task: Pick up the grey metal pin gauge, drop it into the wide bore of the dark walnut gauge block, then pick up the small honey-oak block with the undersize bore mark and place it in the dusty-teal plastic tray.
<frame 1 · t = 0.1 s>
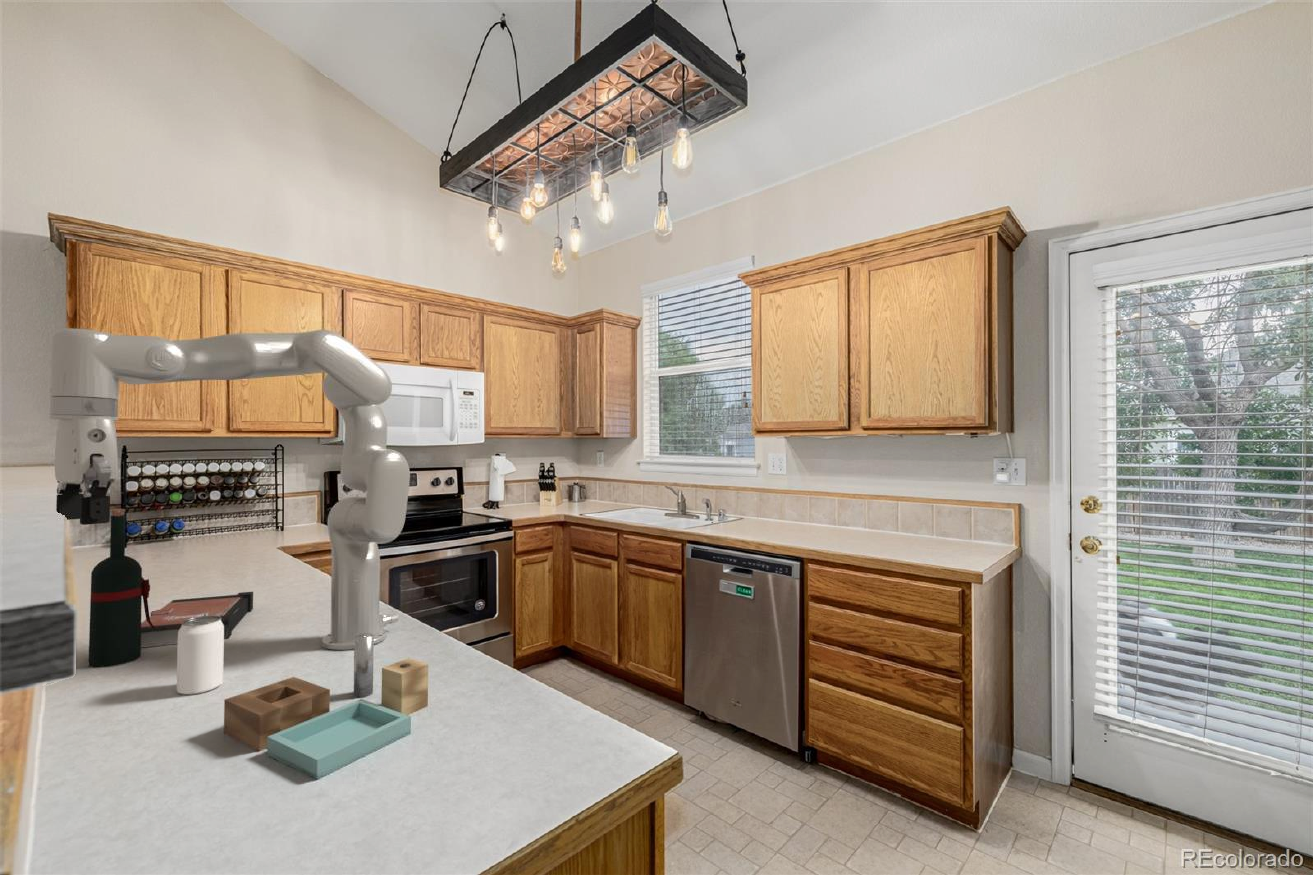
hand: (82, 521, 89), 31 cm above the counter, tool pointing down, fingers open, 9 cm apart
wine bottle: (122, 659, 116), on the counter
book: (196, 630, 137), on the counter
can: (200, 689, 103), on the counter
bore block: (277, 727, 88), on the counter
tray: (341, 743, 84), on the counter
oak block: (404, 708, 95), on the counter
pin gauge: (363, 693, 101), on the counter
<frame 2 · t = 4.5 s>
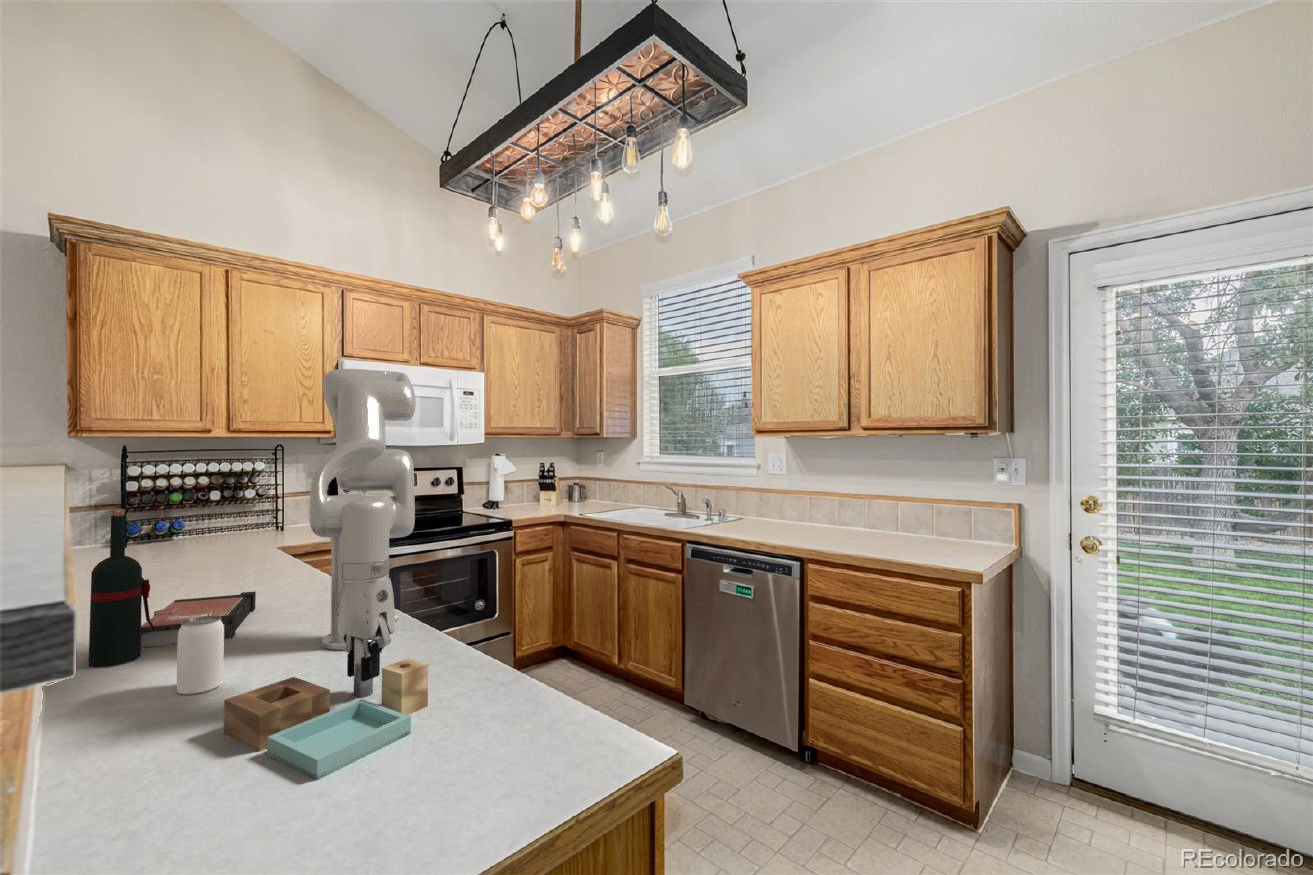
hand: (363, 675, 101), 3 cm above the counter, tool pointing down, fingers closed on pin gauge, 3 cm apart
pin gauge: (363, 693, 101), on the counter, touching gripper
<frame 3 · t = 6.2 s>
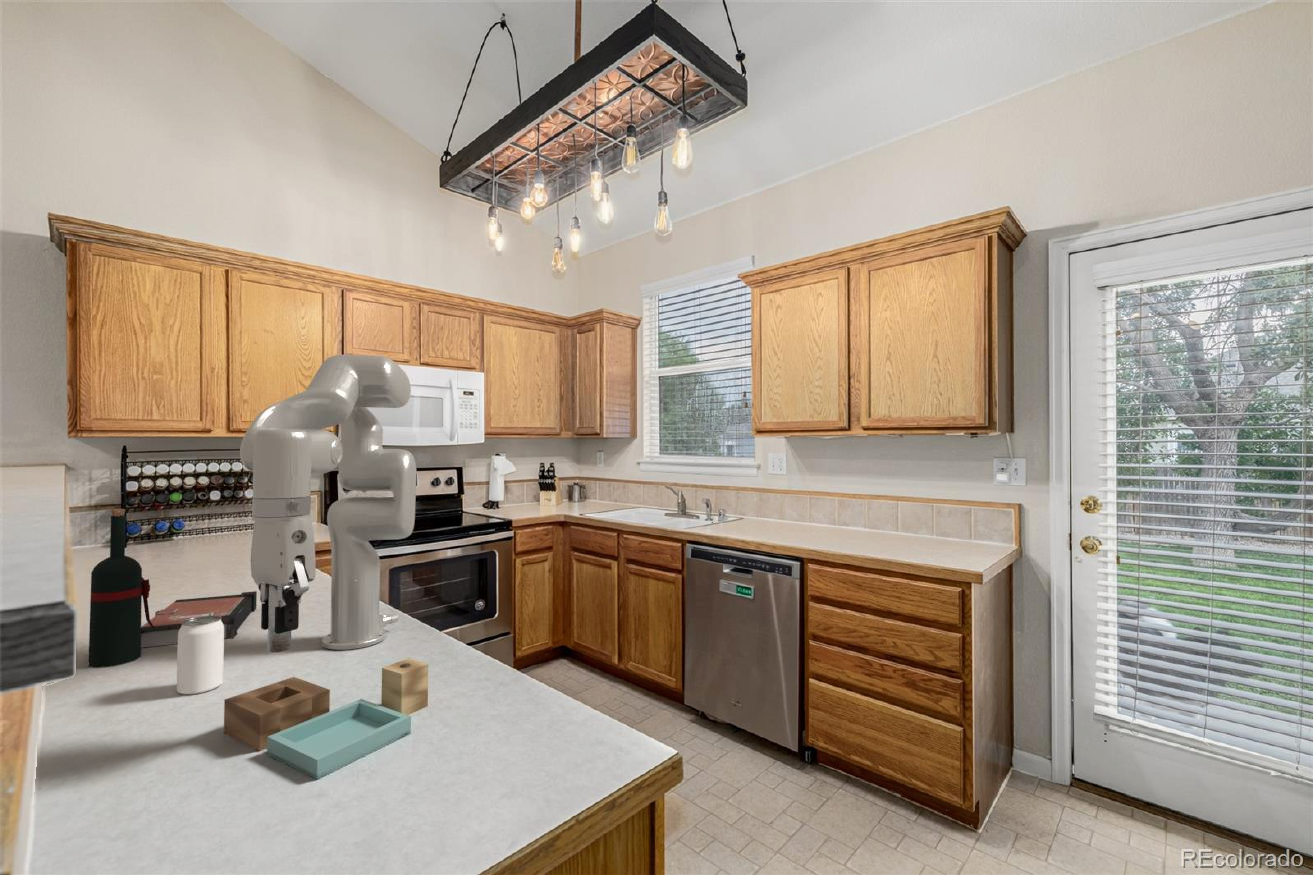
hand: (279, 628, 89), 15 cm above the counter, tool pointing down, fingers closed on pin gauge, 3 cm apart
pin gauge: (279, 649, 89), point 12 cm above the counter, touching gripper
everything else where it was.
when the fingers open (5 cm above the counter, at t = 8.2 s): pin gauge stays where it is, resting on bore block.
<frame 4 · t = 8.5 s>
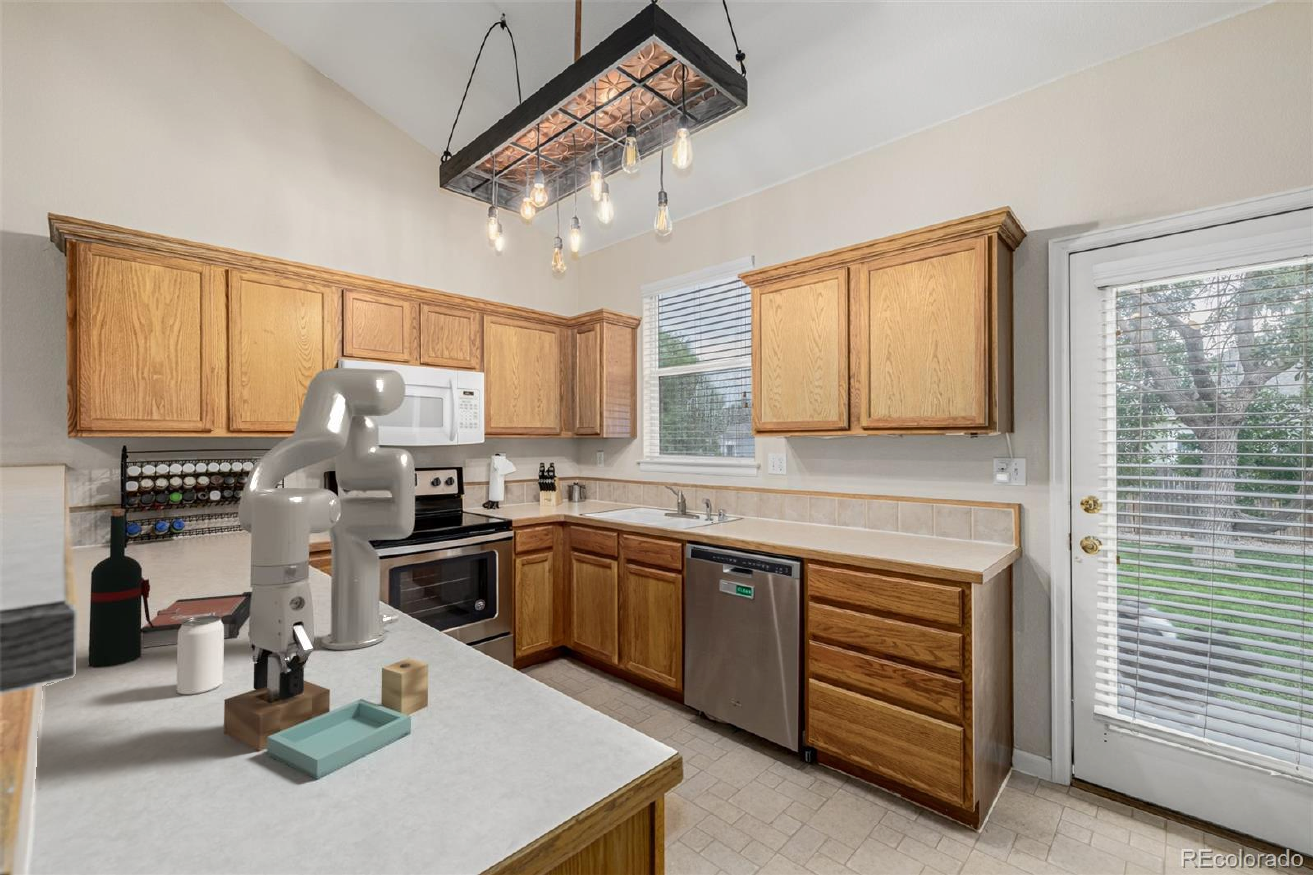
hand: (278, 690, 88), 6 cm above the counter, tool pointing down, fingers open, 6 cm apart
pin gauge: (278, 720, 88), point 1 cm above the counter, touching bore block
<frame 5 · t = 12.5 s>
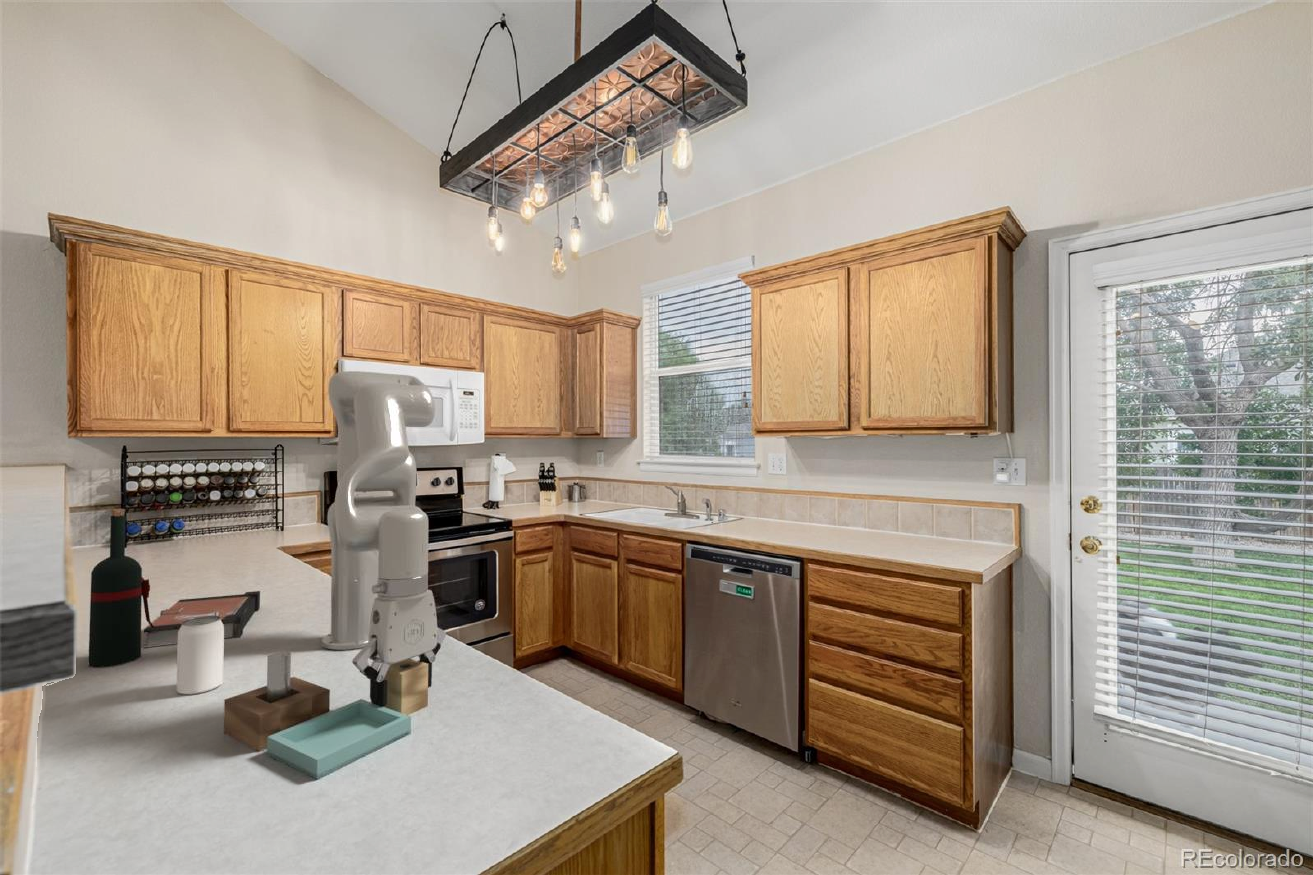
hand: (402, 694, 95), 3 cm above the counter, tool pointing down, fingers open, 7 cm apart
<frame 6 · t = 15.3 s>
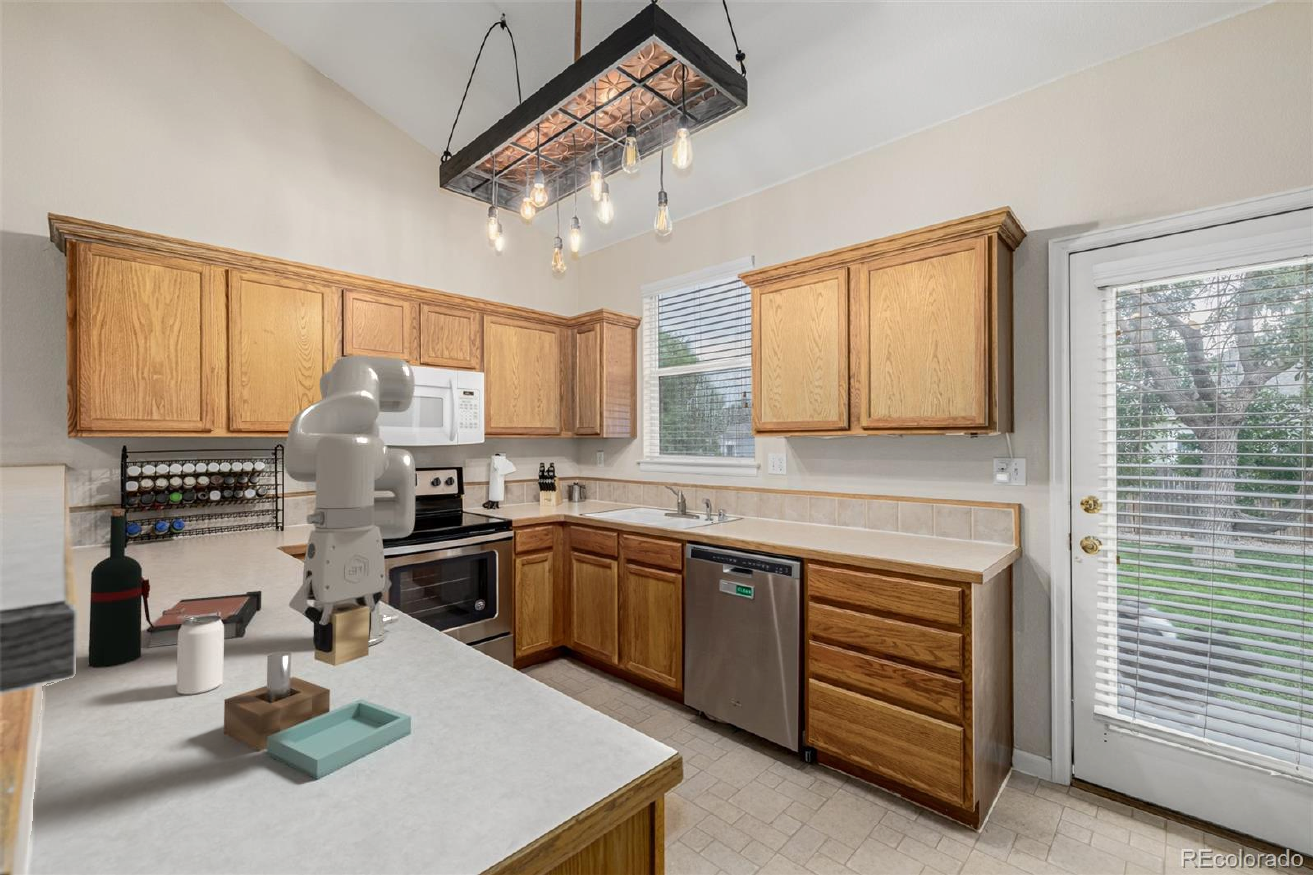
hand: (343, 643, 84), 14 cm above the counter, tool pointing down, fingers closed on oak block, 5 cm apart
oak block: (341, 657, 84), point 12 cm above the counter, touching gripper
when the fingers open (4 cm above the counter, at t = 17.5 s): oak block drops 1 cm, resting on tray.
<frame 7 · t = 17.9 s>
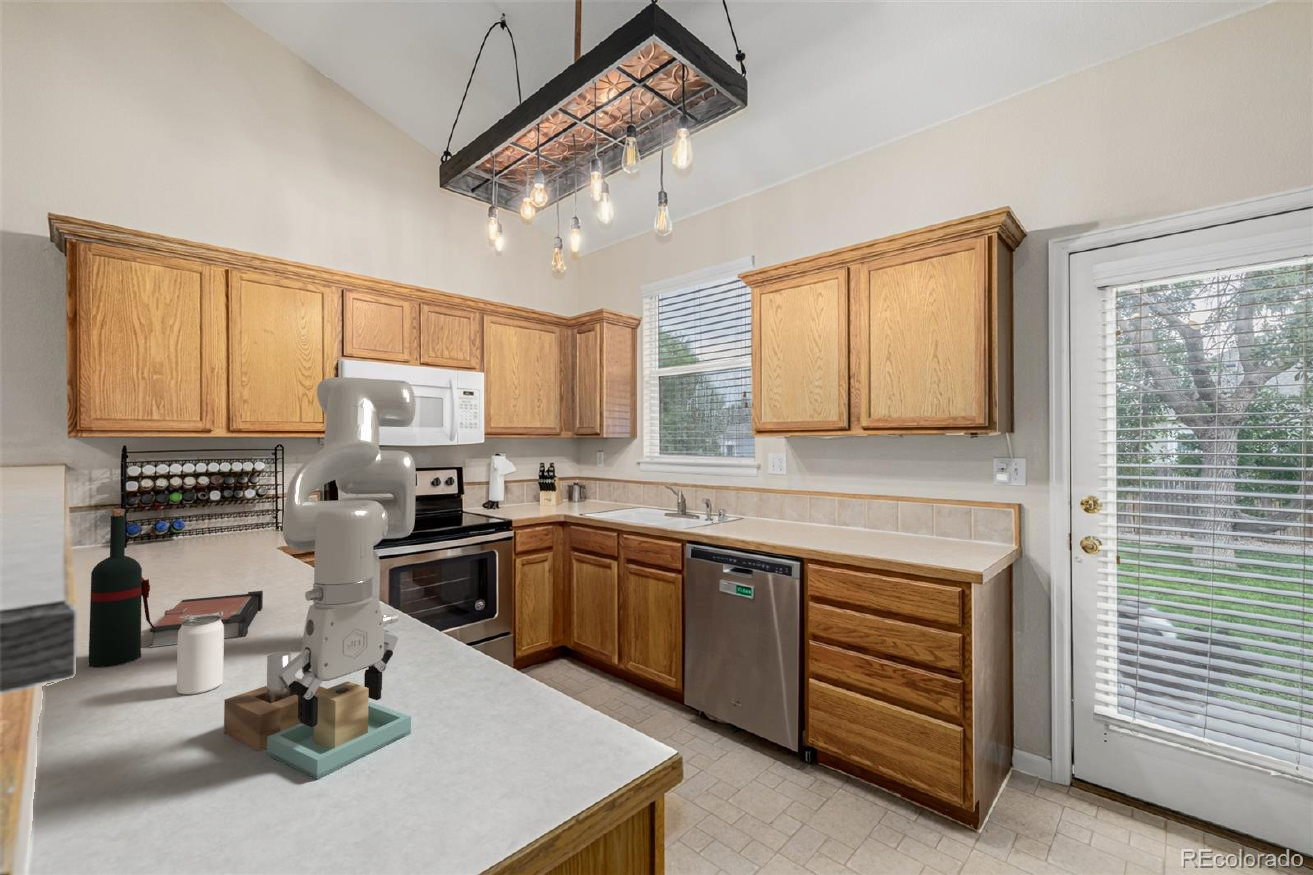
hand: (342, 710, 84), 5 cm above the counter, tool pointing down, fingers open, 9 cm apart
oak block: (341, 739, 84), resting on tray
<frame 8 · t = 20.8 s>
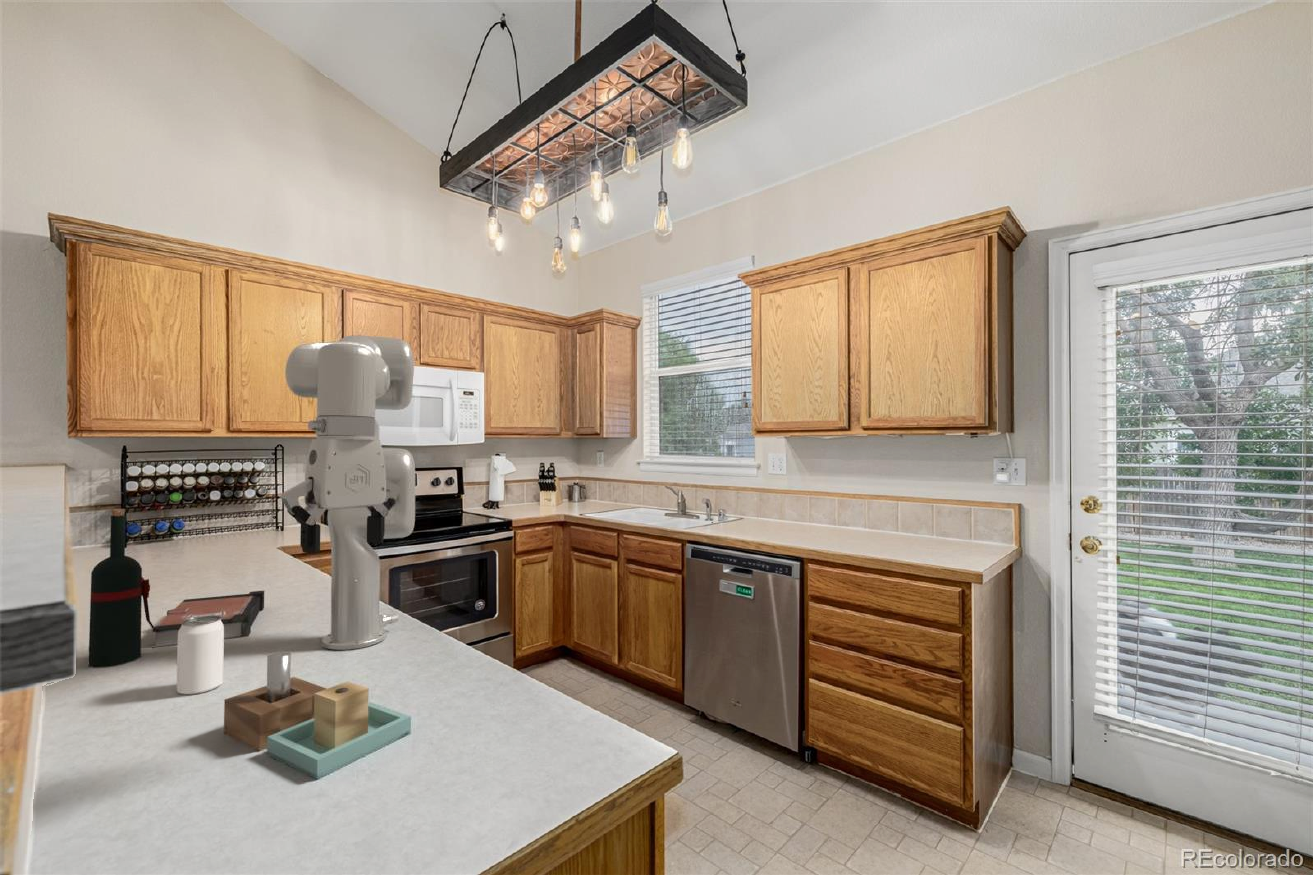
hand: (344, 547, 84), 28 cm above the counter, tool pointing down, fingers open, 9 cm apart
at the end: pin gauge 0.0 cm off-centre on the bore block, point 1.0 cm above the bore block's base; oak block inside the target area on the tray (0.3 cm from its centre), point 0.5 cm above the tray's base; the gripper is holding nothing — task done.
